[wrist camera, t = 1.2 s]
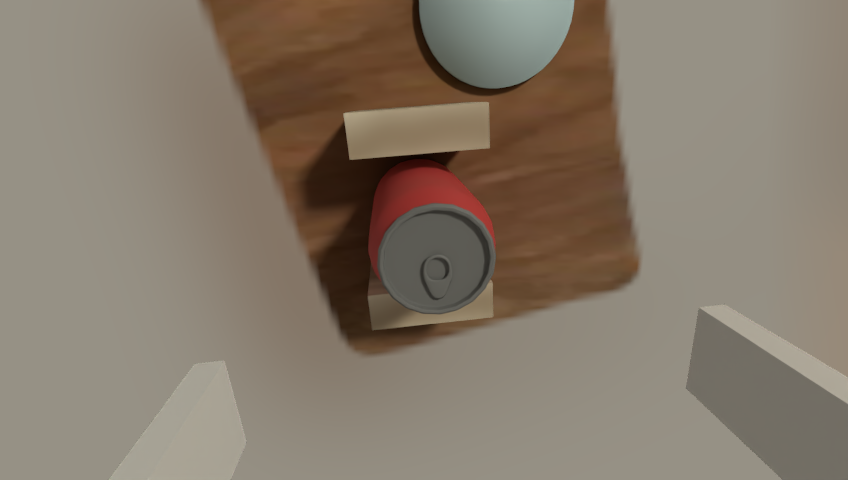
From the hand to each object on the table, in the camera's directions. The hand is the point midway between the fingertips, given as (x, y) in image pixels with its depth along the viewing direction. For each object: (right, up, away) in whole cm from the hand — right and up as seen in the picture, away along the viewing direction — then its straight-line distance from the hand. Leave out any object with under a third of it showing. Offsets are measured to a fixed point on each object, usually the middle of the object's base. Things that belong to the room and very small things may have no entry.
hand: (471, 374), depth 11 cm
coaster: (+3, +19, +15) cm, 24 cm away
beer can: (-2, +7, +19) cm, 20 cm away
